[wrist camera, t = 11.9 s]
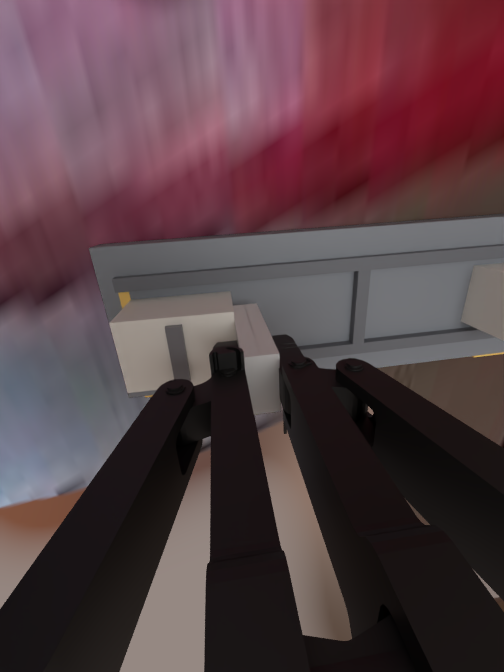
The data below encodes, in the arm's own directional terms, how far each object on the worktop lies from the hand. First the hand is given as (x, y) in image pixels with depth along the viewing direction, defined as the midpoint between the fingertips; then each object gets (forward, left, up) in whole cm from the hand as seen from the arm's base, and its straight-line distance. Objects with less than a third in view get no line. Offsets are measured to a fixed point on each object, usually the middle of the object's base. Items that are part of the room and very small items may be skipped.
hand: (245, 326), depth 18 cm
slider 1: (-4, 0, -2) cm, 4 cm away
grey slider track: (+8, 0, -4) cm, 9 cm away
